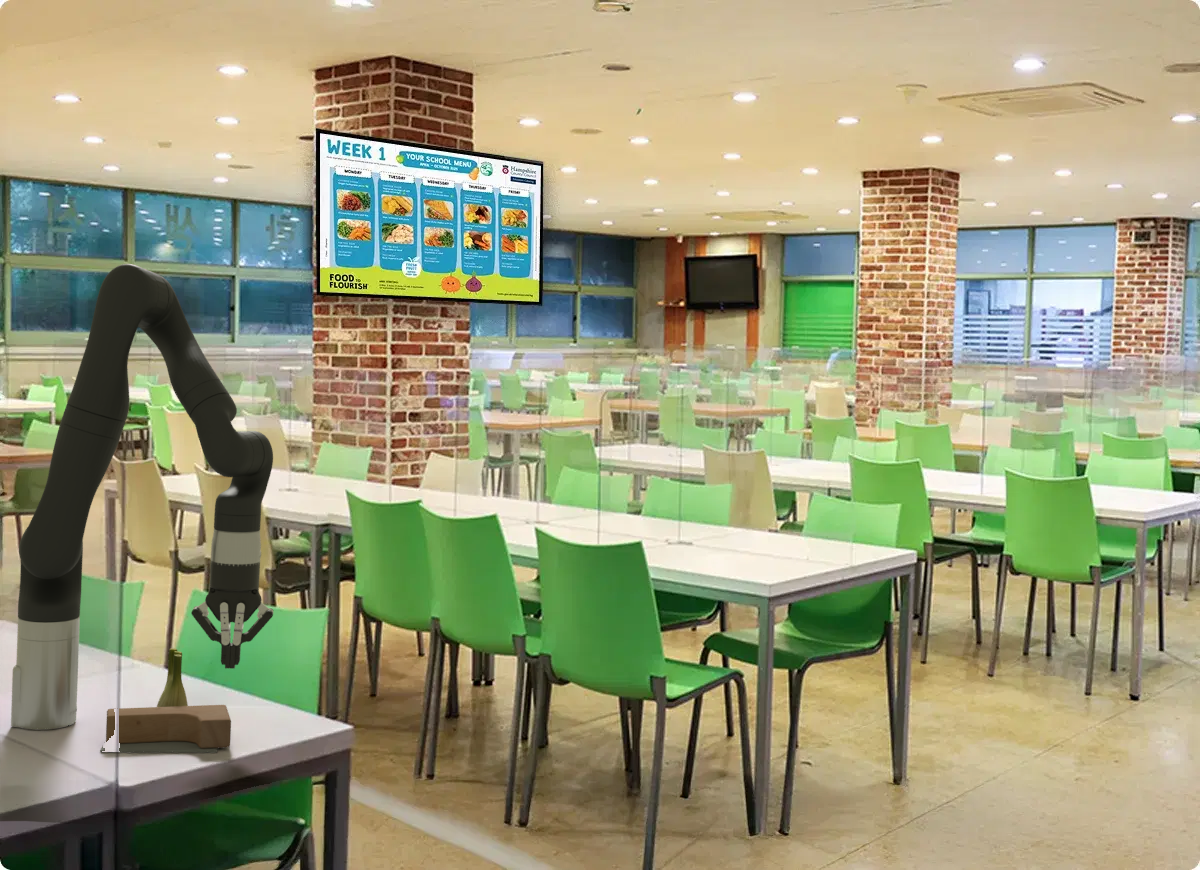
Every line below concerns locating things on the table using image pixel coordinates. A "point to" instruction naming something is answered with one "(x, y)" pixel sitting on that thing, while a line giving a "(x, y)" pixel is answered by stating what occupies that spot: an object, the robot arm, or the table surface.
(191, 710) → the wooden block
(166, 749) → the mat
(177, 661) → the fennel bulb
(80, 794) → the table surface
